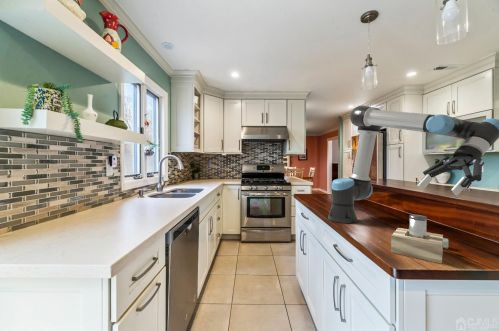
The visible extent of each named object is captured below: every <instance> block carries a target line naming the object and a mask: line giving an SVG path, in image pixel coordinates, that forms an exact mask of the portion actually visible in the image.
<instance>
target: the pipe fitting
mask: <svg viewBox="0 0 499 331" xmlns="http://www.w3.org/2000/svg"><path fill="white" fill-rule="evenodd" d="M443 249H446V250H448V249H449V238H446V237H443Z"/></svg>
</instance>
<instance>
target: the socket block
mask: <svg viewBox="0 0 499 331" xmlns="http://www.w3.org/2000/svg"><path fill="white" fill-rule="evenodd" d="M390 238H391V240H390V243H391V244H390V253H392V254H398V255H401V256H407V257H411V258H415V259H419V260H424V261H428V262H433V263H436V264H443V254H444V253H443V252H444V248H443V238H444V234H439V233H432V232H429V231H428V232H427V231H426V239H421V238H415V237H410V236H409V228H408V229H407V228H401V227H397V228H396V230H394V232H393V233H392V234H391V236H390Z"/></svg>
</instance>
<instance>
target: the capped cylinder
mask: <svg viewBox="0 0 499 331" xmlns="http://www.w3.org/2000/svg"><path fill="white" fill-rule="evenodd" d="M408 218H409V219H408V221H409V224H408V225H409V227H408V229H409V236H410V237H415V238H421V239H426V232H427V223H428V222H427V216H426V215H422V214H421V215H420V214H409V217H408Z"/></svg>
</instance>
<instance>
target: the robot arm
mask: <svg viewBox="0 0 499 331" xmlns="http://www.w3.org/2000/svg"><path fill="white" fill-rule="evenodd" d="M349 114H350V115H349V120H350V122H351V123H352V125H353V126H354V127H357V132H358V133H359V135H358V142H357V147H356V153H355V159H354V164H353V170H352V174H350V175H349V177H348V178H344V177H343V178H336V179H334V180H332V183H331V206H330V210H329V213H328V217H327V218H328V220H329V221H330V222H335V223H342V224H354V223H357V222H358V215H357V213H356V210H355V207H354V206H355V201H361V200H362V201H363V200H366V199H368V198H370V197H371V195H372V194H373V191H374V190H373V189H374V188H373V185H372V183H371V180H372V179H371V178H370V176H369V175H370V169H371V164H372V159H373V154H374V149H375V143H376V137H377V135H379V134H380V133H381V129H382V128H383V127H385V128H392V129H397V130H398V129H400V130H403V131H404V130H406V131H413V132H419V133H427V134H431V135H433V134H434V135H440V136H446V137H452V138H457V139H462V140H464V141H463V142H462V143H461V144H460V146H458V148H457V149H455V150H454V152H453V157H451V158H449V159H447V157H443V158H442V159H440V161H438V162H437V163H435V164H433V165H432V166H429V167H428V168H427V169H425V170H424V171H423V172H422V174H423V175H424V176H423V177H422V179H421V180H420V181H419V183H418V184H417V185H416V186H417V187H418V189H419V190H421V191H424V190H425V189H426V187H427V186H428V185H429V184H430V183H431V182H432V181H433V178H435V177H437V176H439V175H441V174H444V173H446V172H451V171H456V170H457V171H463V173H464V176H462V177H461V178H460V179H459V180H458V182H457V183H456V184H455V185H454V186H453V187H452V188H451V191H452V193H453V194H454V196H459V195H460V194H461V192H463V190H464V189H466V188H468V187H469V185H470V184H471V183H473V182H475V181H477V182H481V181H482V174H483V166H485V161H484V160H483V159H482V157H483V156H484V154H485V153H487V151H488V150H489V149H490V148H491V146H493V144H494V143H496V142H497V141H498V139H499V119H497V118H493V117H492V118H486V119H484V120H482V121H481V122H478V121H470V120H467V119H461V118H458V117H457V118H456V117H453V116H449V115H448V114H430V113H417V112H406V111H394V110H382V109H380V108H378V107H373V106H368V105H358V106H356V107H354V108H353V109H352V111H350V113H349ZM471 166H473V168H472V172H471V169H470V167H471Z"/></svg>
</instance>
